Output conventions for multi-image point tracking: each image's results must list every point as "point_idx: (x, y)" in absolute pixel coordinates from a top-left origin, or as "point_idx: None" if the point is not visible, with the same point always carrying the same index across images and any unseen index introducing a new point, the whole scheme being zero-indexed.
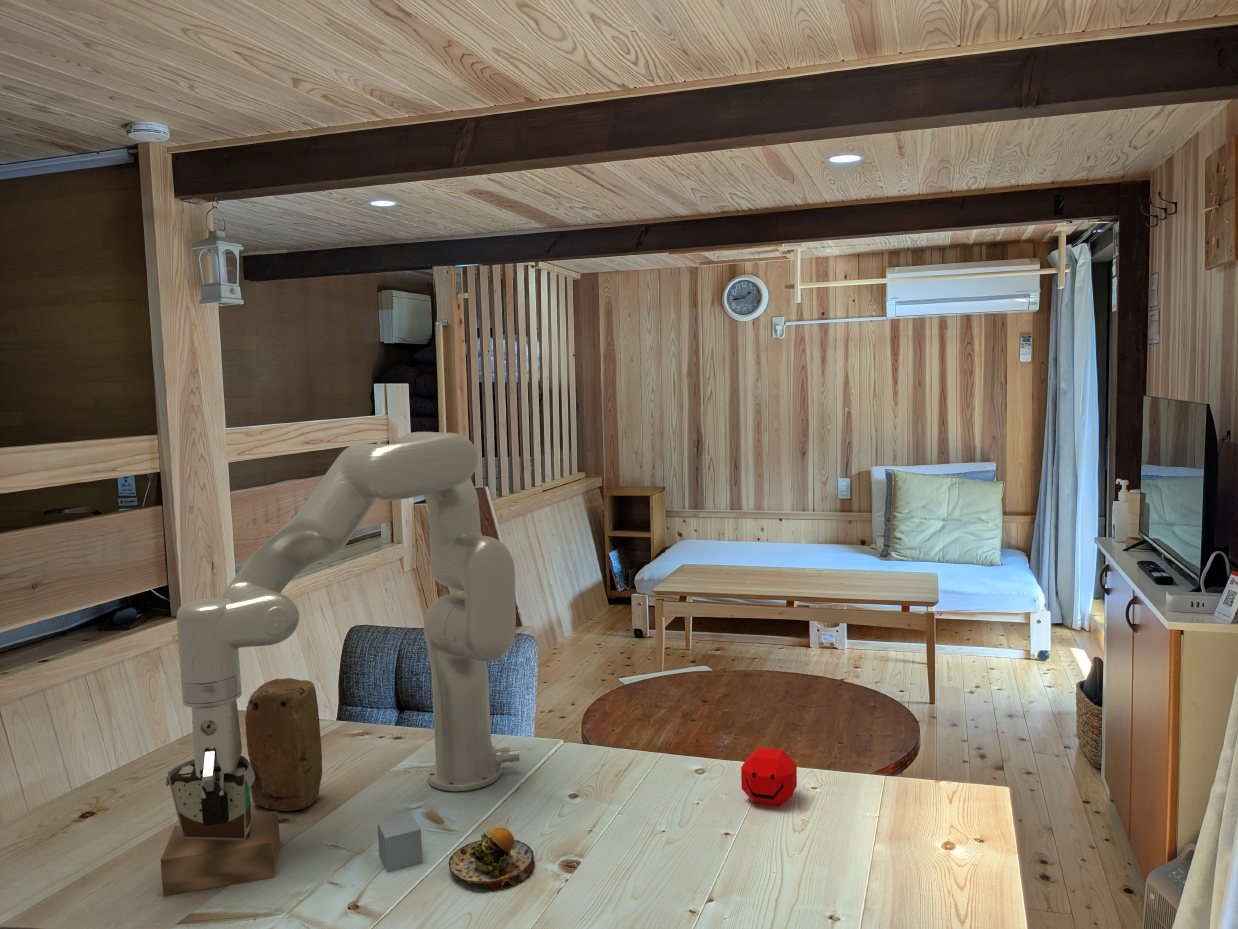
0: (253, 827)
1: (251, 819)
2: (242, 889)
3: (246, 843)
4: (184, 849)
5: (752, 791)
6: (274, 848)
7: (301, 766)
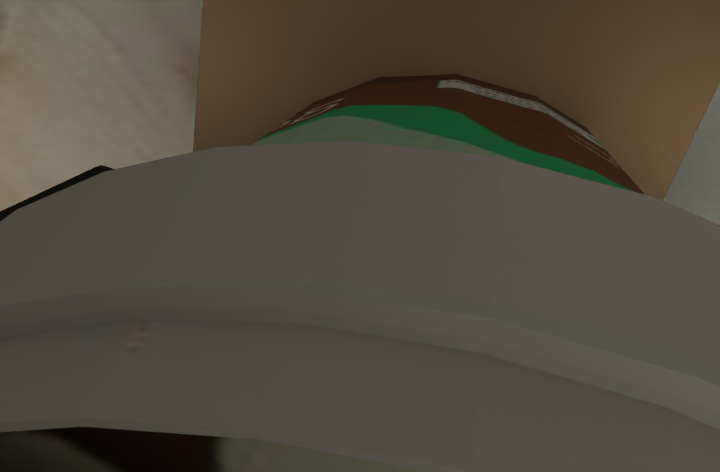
0: (404, 48)
1: (272, 42)
2: (711, 130)
3: (638, 133)
4: None
5: None
6: None
7: None
